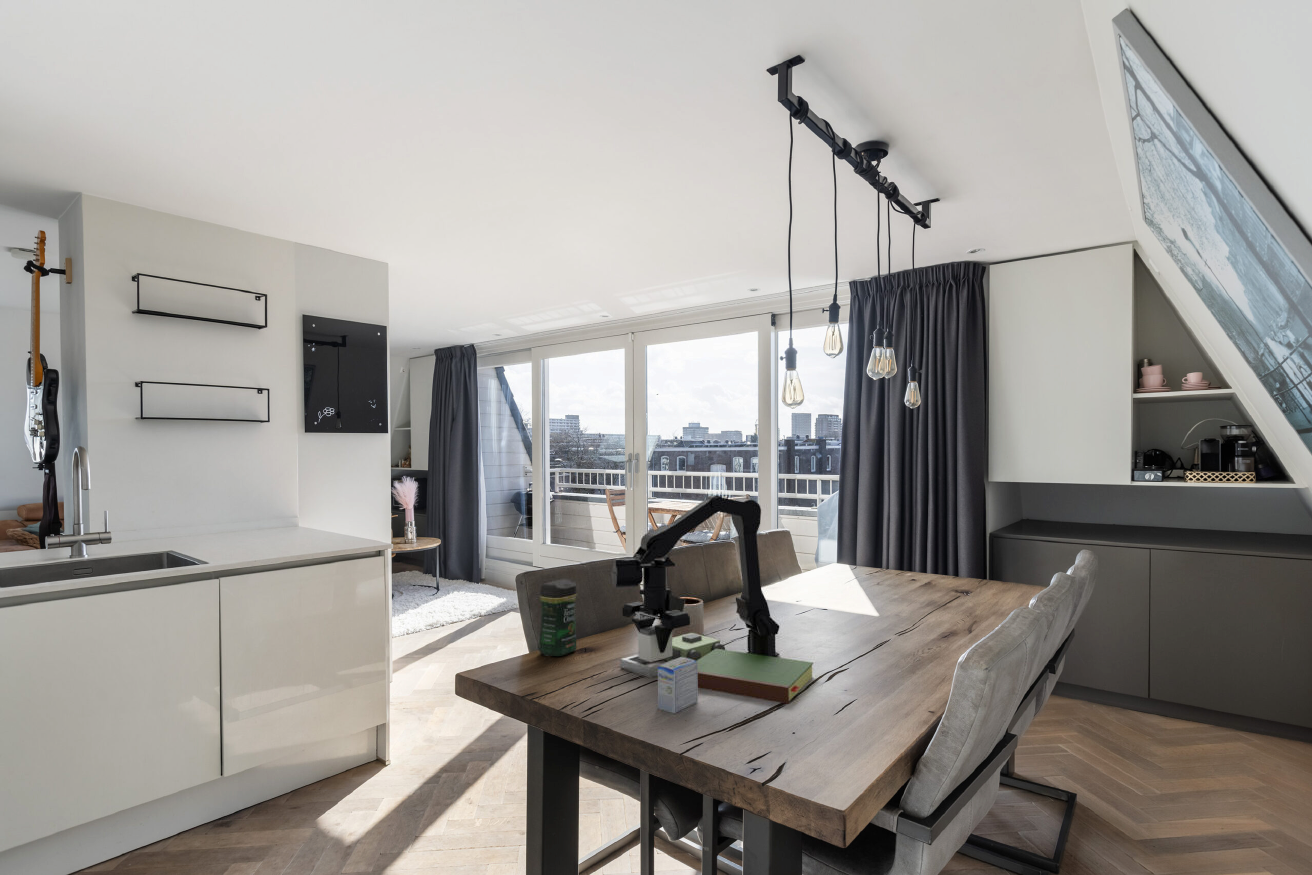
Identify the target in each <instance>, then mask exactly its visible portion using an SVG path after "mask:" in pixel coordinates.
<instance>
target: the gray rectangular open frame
mask: <svg viewBox="0 0 1312 875" xmlns="http://www.w3.org/2000/svg"><path fill="white" fill-rule="evenodd" d="M648 662H649V661H646V660H643V659H640V658H638V654H635V655H631V656H628V657H623V658H620V668H621V669H624V670H626V671H629V672H632V673H634V674H637V675H640V676H643V677H646V678H648V679H651V678H654V677H658V666H660V665H662V664H664V663H667V662H669V661H668V660H667V661H665V662H662V663H659V664H655V665H652V666H651V665H650V666H649V665H646V663H648ZM649 663H650V662H649Z"/></svg>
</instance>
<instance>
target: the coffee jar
mask: <svg viewBox="0 0 1312 875" xmlns="http://www.w3.org/2000/svg"><path fill="white" fill-rule="evenodd" d="M539 599H540V603H541V620H540V635H539V647H538V648H539V649H538V650H539V653H540V654H542V655H543V656H546V657H549V658H550V657H561V656H565V655H568V654H570V653H572V652H575V651H576V650H577V632H576V630H577V629H576V612H575V608H576V599H577V583H576V582H575V581H574V580H571V579H563V578H562V579H557V580H554V581H550V582H546V583H545V582H544V583H543V584H542V585H541V586H540V592H539Z"/></svg>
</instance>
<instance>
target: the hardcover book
mask: <svg viewBox="0 0 1312 875" xmlns="http://www.w3.org/2000/svg"><path fill="white" fill-rule="evenodd" d="M697 662H698V689H703V690H707V691H708V690H709V691H714V692H720V693H726V694H733V695H738V696H743V697H747V698H753V699H754V698H755V699H759V700H766V701H772V702H775V703H776V702H778V703H780V704H781V703H783V704H790V701H791V700H792V699H793V698H794V697H795V696H796V695H797V694H798V693H799V692H800V691H801V689H803V687H805V685H807V683H808V682H809V681H810V680H811V679H812V678H813V665H814V662H813V661H804V660H798V659H791V658H784V657H779V656H776V657H771V656H764V655H757V654H750V653H746V652H741V651H737V650H735V651H734V650H728V649H725V650H722V649H715V650H713V651H711V652H710V653H708V654H707V655H705V656H704V657H702V658H700V659H699V660H697Z"/></svg>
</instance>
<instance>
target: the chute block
mask: <svg viewBox="0 0 1312 875" xmlns="http://www.w3.org/2000/svg"><path fill="white" fill-rule="evenodd" d="M656 625H657V624H656ZM656 625H652V626H651V627H647V628H642V629H640V632H639V631H638V632H637V643H638V644H637V647H638V648H637V650H638V651H637V655H638V658H640V659H643V660H646V661H649V663H653V662H656V661H659V660H665V659H664V658H667V657H671V656H672V632H671V635H670V637H669V640H668V643H667V646H666V649H665V652H664V653H660V650H659V647H658V642H657V637H656V632H655V627H654V626H656ZM658 625H660V623H659V624H658Z"/></svg>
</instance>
